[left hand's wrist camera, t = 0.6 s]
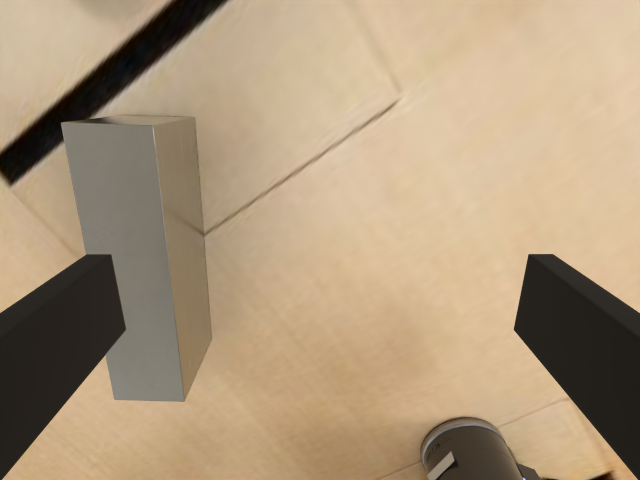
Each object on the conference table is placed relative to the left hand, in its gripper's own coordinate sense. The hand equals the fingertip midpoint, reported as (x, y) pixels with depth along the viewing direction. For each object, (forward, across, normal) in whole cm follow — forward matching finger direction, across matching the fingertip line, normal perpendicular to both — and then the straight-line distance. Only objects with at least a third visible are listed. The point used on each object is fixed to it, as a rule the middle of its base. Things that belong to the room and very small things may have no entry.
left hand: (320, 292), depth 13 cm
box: (+23, -14, -6) cm, 27 cm away
